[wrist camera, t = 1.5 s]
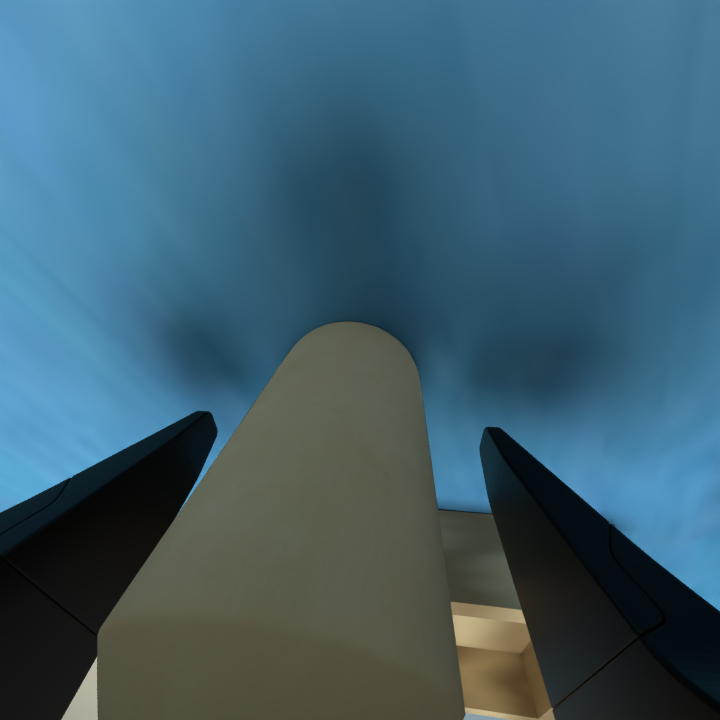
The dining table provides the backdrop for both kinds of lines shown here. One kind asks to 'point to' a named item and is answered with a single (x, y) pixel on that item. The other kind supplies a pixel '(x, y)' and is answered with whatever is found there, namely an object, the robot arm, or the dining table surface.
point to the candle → (300, 560)
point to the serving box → (489, 623)
